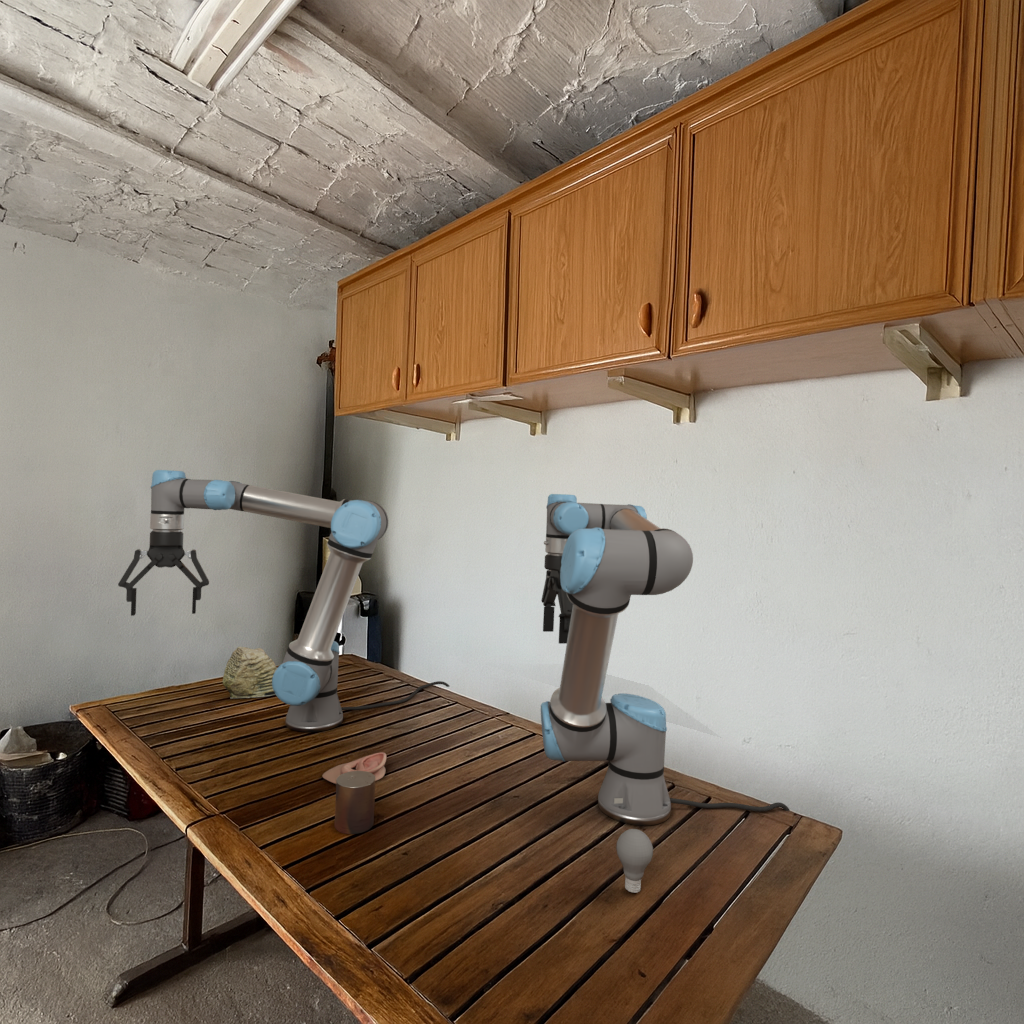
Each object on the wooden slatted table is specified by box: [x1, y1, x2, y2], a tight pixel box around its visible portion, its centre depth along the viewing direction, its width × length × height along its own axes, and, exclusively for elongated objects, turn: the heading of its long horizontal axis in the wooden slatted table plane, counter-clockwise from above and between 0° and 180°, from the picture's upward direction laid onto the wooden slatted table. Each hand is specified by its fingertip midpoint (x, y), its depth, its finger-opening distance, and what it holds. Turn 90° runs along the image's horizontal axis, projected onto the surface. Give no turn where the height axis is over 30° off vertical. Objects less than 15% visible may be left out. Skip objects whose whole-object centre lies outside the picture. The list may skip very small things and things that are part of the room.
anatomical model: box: [321, 751, 387, 785], centre depth 144 cm, size 13×4×12 cm
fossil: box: [222, 646, 278, 699], centre depth 198 cm, size 9×18×15 cm, turn 132°
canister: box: [334, 771, 376, 835], centre depth 123 cm, size 7×7×9 cm
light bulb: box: [615, 828, 654, 894], centre depth 106 cm, size 6×6×10 cm
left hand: (164, 613), depth 162 cm, fingers open, 13 cm apart
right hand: (555, 637), depth 162 cm, fingers open, 13 cm apart
